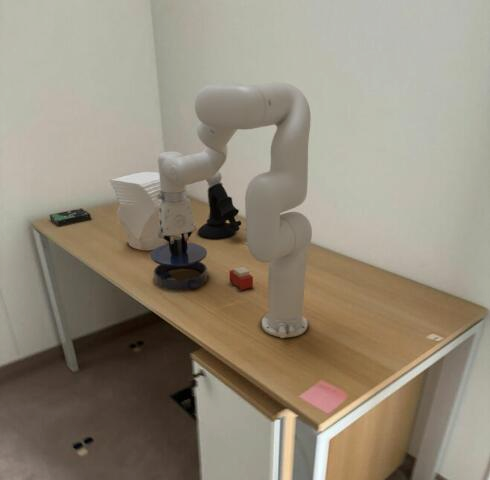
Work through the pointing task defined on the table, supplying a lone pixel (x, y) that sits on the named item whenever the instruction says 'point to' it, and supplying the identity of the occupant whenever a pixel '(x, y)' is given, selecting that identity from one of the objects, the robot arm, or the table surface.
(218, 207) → the sculpture
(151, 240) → the paper stack
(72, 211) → the disk drive
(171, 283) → the pot
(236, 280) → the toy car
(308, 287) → the table surface
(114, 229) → the table surface
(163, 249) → the lid
